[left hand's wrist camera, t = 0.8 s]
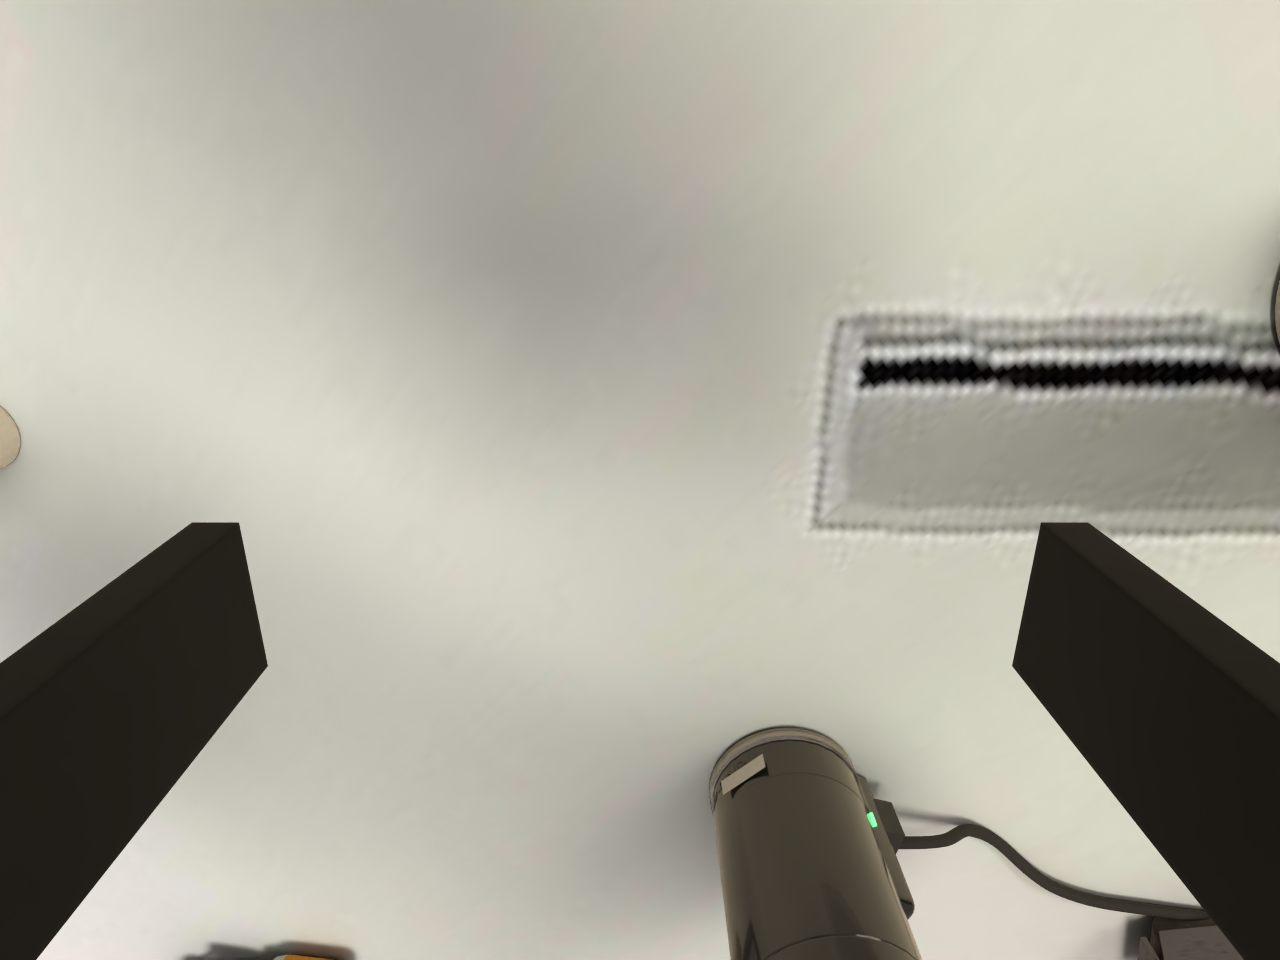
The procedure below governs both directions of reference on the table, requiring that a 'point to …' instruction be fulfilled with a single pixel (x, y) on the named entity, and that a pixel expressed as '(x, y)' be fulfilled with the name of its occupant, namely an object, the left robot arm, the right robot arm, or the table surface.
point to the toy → (1186, 941)
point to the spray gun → (297, 958)
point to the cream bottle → (8, 439)
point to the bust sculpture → (1278, 312)
